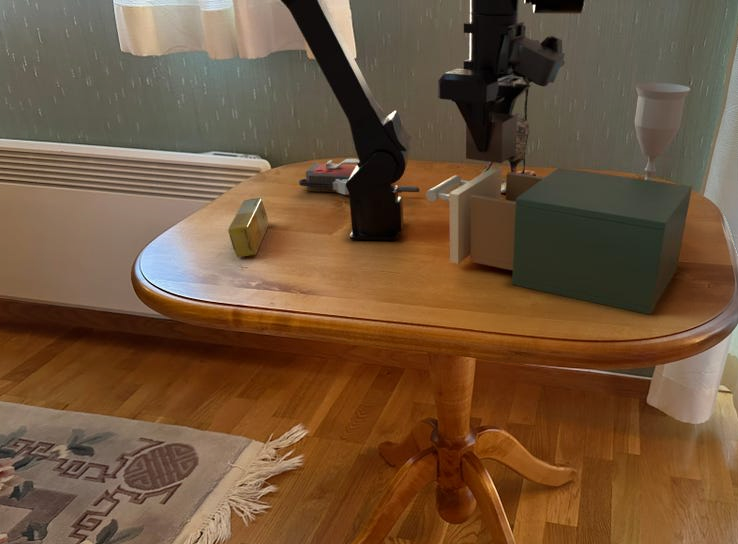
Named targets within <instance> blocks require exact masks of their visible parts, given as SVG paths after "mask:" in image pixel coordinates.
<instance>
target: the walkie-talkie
mask: <svg viewBox="0 0 738 544" xmlns="http://www.w3.org/2000/svg"><path fill="white" fill-rule="evenodd" d="M359 162H360V161H359V159H358V158H345V159H344V160H343V161H341V162H340V163H333V160H332V159H329V160H328V161H327V162H326V163H313V164H312V165H311V166H310V167H309V168H307V170H306V172H305V178H303V179H299V181H298V184H299V186H301V187H307V190H309V191H310V192H321V193H338V194H341V195H344V196H349V192H348V189H347V187H346V183H347V181H348V179H349V177H350V176H351V174H352V172H353V170H354V169H355V167H356V165H357V164H358V163H359ZM397 186H398V194H402V193H419V192H420V188H419V187H418V186H405V185H397Z"/></svg>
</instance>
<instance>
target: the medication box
mask: <svg viewBox="0 0 738 544" xmlns="http://www.w3.org/2000/svg"><path fill="white" fill-rule="evenodd" d="M269 225H270V223H269V219H268V215H267V211H266V209H265V205H264V202H263V200H262V198H261V197H257V198H250V199H244V200H243V201H242V203H241V205H240V206H239V209H238V211H237V213H236V214H235V216H234V218H233V220H232V222H231V223H230V225H229V227H228V229H227V231H228V235H229V238H230V242H231V246H232V248H233V251H234V253H235V255H236V257H237V258H242V257H247V256H248V257H249V256H254V255H255V256H256V255H257V252H258V250H259V248H260V246H261V243H262V241H263V239H264V236H265V235H266V232H267V229H268V227H269Z"/></svg>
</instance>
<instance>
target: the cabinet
mask: <svg viewBox="0 0 738 544" xmlns="http://www.w3.org/2000/svg"><path fill="white" fill-rule="evenodd" d="M692 189H693V186H691V185H686V184H685V185H684V184H678V183H671V182H663V181H658V180H657V181H656V180H653V181H650V180H645V179H643V178H634V177H628V176H621V175H614V174H608V173H599V172H593V171H586V170H578V169H571V168H564V167H557V168H556V169H554V170H553V171H551V172H550V173H548V175H546V176H545V178H544V179H542V180H541V181H539V182H538V183H537V184H535V185H534V186H533V187H531V188H530V189H528V190H527V191H526V192H524V193H523V194H522V195H520V196H519V197H517V198H516V210H515V232H514V255H513V271H512V277H511V278H512V279H511V285H512V286H515V287H521V288H526V289H530V290H535V291H540V292H543V293H549V294H552V295H558V296H562V297H568V298H571V299H577V300H579V301H580V300H581V301H585V302H590V303H595V304H598V305H604V306H608V307H613V308H617V309H622V310H627V311H630V312H631V311H632V312H635V313H641V314H645V315H649V316H650V315H651V314H652V312H653V311H654V310H655V308H656V306H657V304H658V302H659V301H660V299H661V297H662V296H663V294H664V293H665V291H666V288H667V287H668V285H669V283H670V282H671V281H672V278H673V277H674V275H675V273H676V272H677V270H678V265H679V261H680V260H679V259H680V254H681V249H682V244H683V239H684V235H685V234H684V233H685V229H686V222H687V218H688V217H687V216H688V212H689V206H690V201H691V195H692Z"/></svg>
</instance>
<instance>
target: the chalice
mask: <svg viewBox="0 0 738 544" xmlns="http://www.w3.org/2000/svg"><path fill="white" fill-rule="evenodd" d="M635 89H636V93H637V103H636V109H635V116H634V129H635V132H636V138H637V141H638V144H639V147H640V149H641V152H642V154H643V155H644V156H646V157H647V159H648V160H647V164H646V167H645V168H644V172H645V177H644V180H650V181H654V174H655V173H656V171H657V169H656V160H657V157H658V158H659V157H661V156H663V155H664V154H665V152H666V151H667V149H668V148H669V147H670V145H671V143H672V142H673V141H674V139H675V137H676V136H677V134H678V131H679V130H680V127H681V123H682V117H683V111H684V105H685V99H686V97H687V95H688V94H689V92H690V91H691V87H688V86H686V85H682V84H675V83H668V82H667V83H666V82H644V83H638V84H636V85H635Z"/></svg>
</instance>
